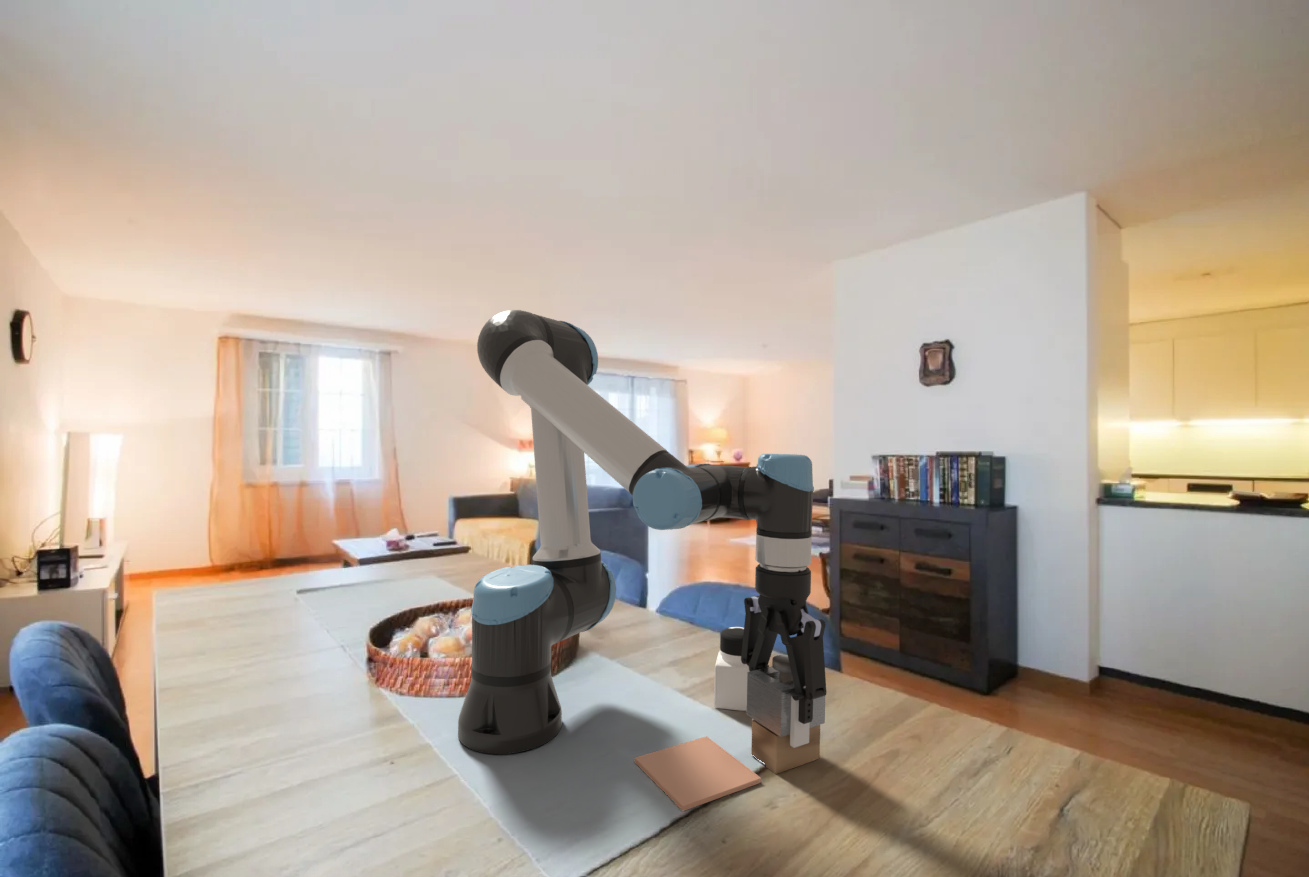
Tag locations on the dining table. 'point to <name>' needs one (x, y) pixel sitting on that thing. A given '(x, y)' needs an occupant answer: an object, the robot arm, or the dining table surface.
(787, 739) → the knob on wooden block
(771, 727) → the c link
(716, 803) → the dining table surface
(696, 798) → the tile
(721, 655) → the medicine bottle
